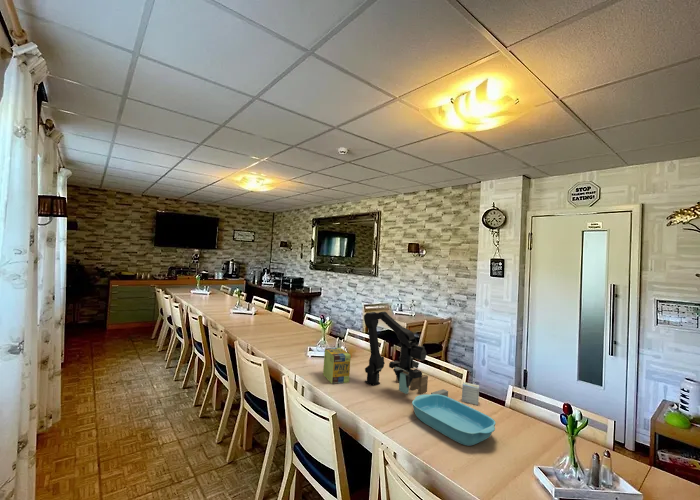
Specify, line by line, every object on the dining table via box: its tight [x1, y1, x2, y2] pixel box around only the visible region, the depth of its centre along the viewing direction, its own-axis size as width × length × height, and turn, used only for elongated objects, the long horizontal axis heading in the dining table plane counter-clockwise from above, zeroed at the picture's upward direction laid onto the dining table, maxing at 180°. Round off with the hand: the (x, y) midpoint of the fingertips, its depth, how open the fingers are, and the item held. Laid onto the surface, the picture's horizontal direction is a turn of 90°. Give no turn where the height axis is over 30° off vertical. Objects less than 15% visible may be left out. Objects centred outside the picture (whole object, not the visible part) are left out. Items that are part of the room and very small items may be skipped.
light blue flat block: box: [398, 372, 410, 395], centre depth 165 cm, size 2×5×9 cm, turn 36°
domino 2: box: [417, 374, 429, 395], centre depth 170 cm, size 2×5×9 cm, turn 126°
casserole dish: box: [411, 393, 497, 447], centre depth 136 cm, size 37×22×7 cm, turn 36°
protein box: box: [322, 347, 352, 385], centre depth 182 cm, size 10×15×16 cm
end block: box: [430, 388, 449, 397], centre depth 161 cm, size 10×3×4 cm, turn 126°
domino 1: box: [409, 378, 419, 391], centre depth 174 cm, size 2×5×9 cm, turn 126°
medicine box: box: [461, 381, 480, 406], centre depth 162 cm, size 8×4×9 cm, turn 65°
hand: (404, 385), depth 165 cm, fingers closed on light blue flat block, 5 cm apart
